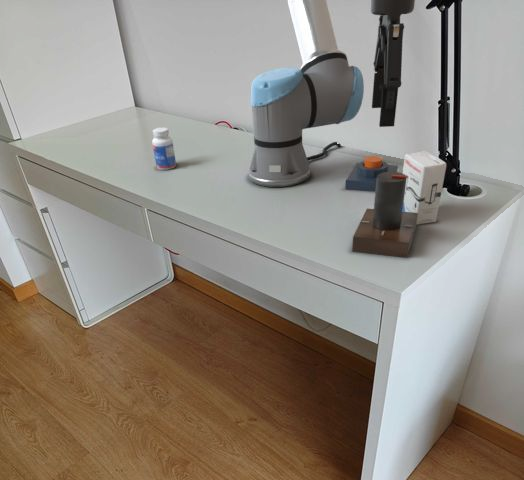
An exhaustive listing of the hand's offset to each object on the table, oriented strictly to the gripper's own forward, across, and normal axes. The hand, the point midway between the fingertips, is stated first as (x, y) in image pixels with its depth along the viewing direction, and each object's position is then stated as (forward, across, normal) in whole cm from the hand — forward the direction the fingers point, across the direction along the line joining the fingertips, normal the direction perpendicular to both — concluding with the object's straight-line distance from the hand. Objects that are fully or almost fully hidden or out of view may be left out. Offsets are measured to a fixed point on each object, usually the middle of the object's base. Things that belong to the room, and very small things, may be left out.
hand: (382, 116), depth 100 cm
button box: (+17, +10, 0) cm, 20 cm away
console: (+17, -20, 0) cm, 26 cm away
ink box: (+17, -9, -8) cm, 21 cm away
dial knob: (+14, -20, 0) cm, 24 cm away
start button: (+14, +10, 0) cm, 17 cm away
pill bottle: (+18, +26, +53) cm, 62 cm away
